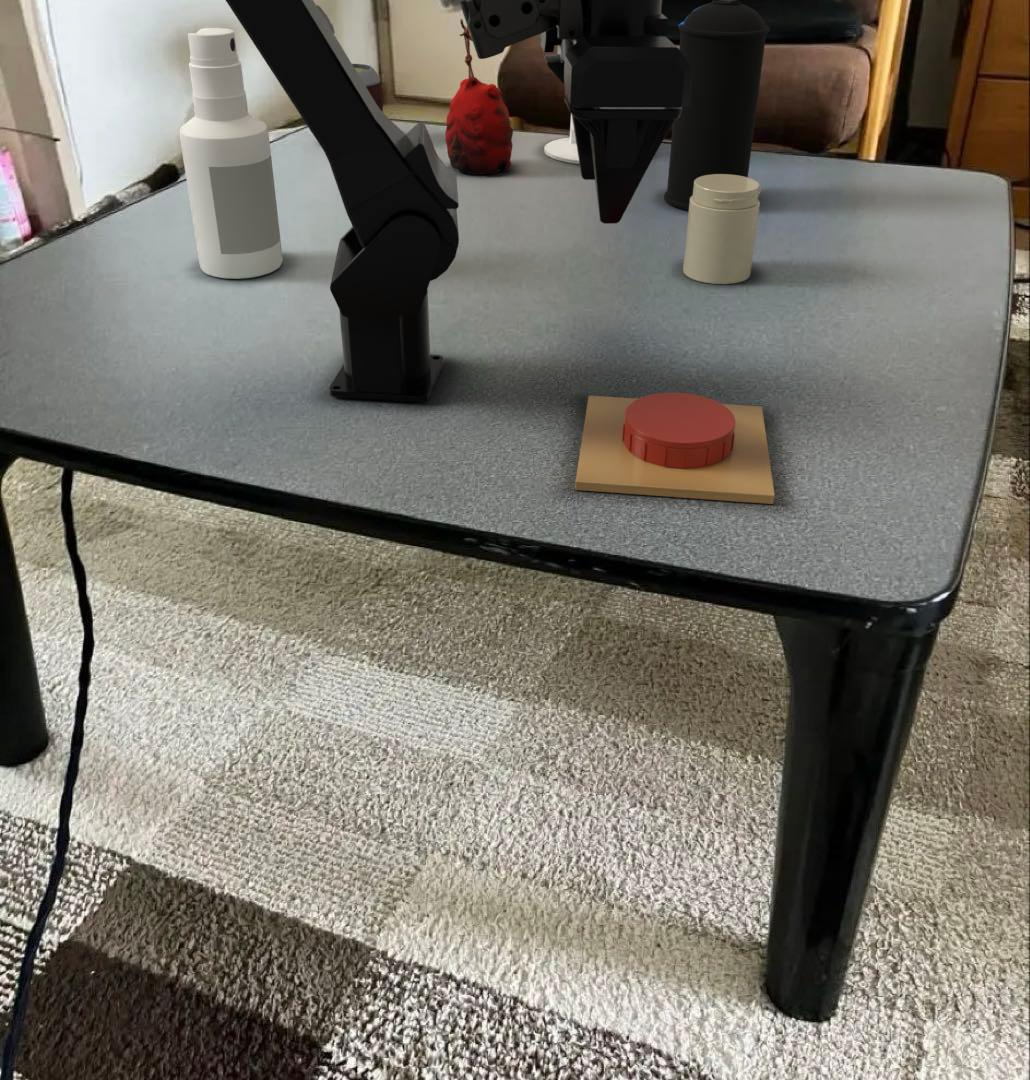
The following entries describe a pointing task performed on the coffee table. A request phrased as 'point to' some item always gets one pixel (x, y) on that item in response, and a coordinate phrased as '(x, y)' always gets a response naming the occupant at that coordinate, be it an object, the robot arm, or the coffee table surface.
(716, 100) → the aerosol can
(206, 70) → the spray bottle
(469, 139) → the red clay folk toy
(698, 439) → the jar lid
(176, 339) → the coffee table surface
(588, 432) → the coaster
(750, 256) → the jar
